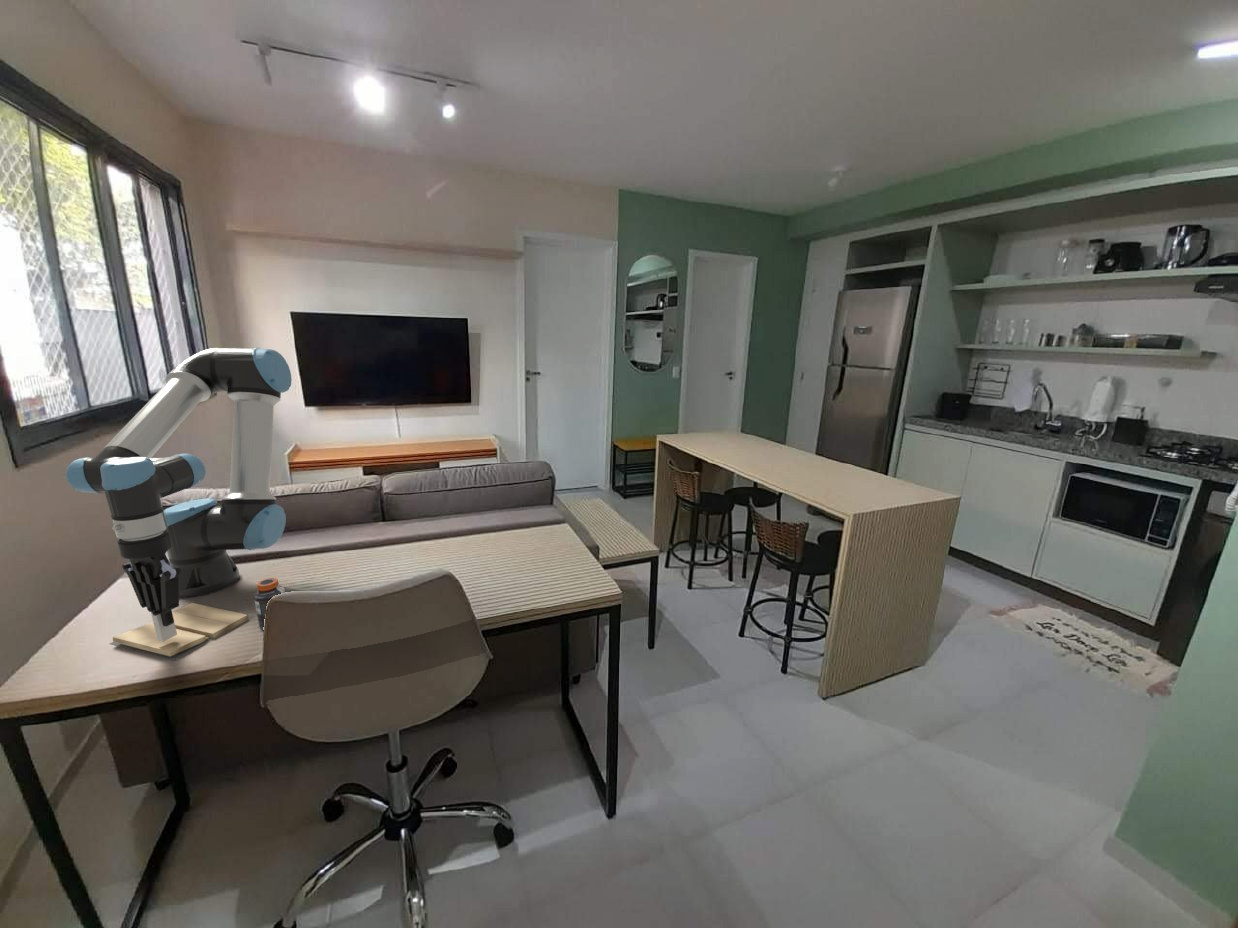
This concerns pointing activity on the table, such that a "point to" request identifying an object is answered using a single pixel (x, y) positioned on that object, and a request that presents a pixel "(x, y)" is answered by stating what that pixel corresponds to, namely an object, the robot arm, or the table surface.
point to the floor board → (206, 619)
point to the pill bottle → (265, 596)
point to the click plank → (148, 641)
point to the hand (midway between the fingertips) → (167, 637)
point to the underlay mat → (177, 653)
